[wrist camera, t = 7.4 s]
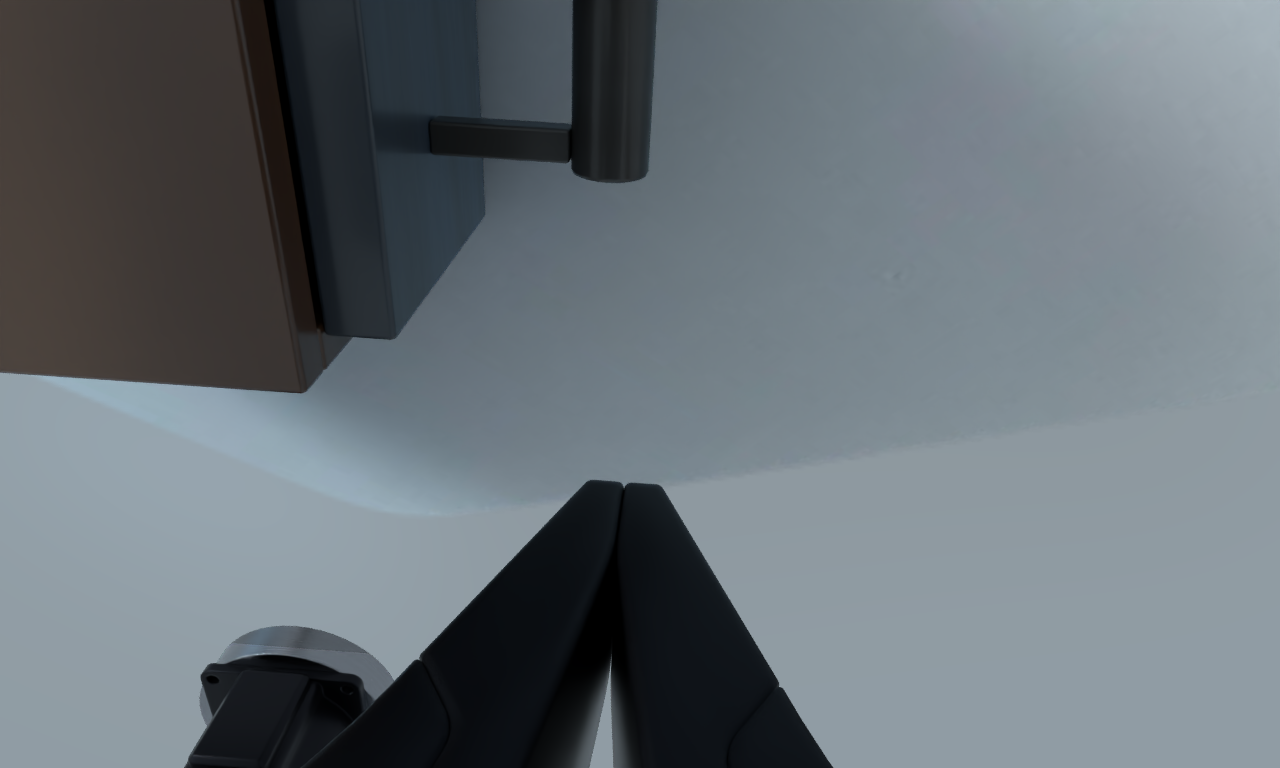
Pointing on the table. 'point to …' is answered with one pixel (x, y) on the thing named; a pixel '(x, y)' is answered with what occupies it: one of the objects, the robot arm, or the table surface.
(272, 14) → the drawer
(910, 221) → the table surface
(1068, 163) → the table surface
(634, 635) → the robot arm
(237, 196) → the cabinet
